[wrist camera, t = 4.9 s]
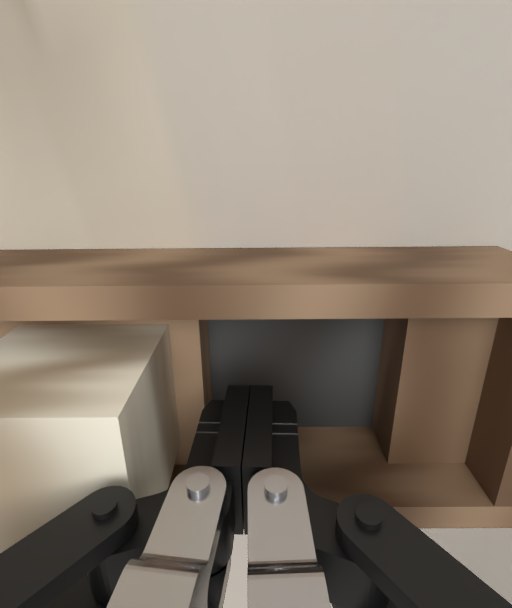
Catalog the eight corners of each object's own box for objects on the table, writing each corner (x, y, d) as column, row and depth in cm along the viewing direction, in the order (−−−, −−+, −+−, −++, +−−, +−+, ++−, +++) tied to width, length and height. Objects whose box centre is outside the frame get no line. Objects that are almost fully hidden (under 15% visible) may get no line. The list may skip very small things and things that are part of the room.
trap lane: (497, 246, 14) (595, 282, 10) (455, 439, 18) (517, 527, 14) (-452, 253, 15) (-737, 291, 10) (-324, 443, 18) (-502, 532, 14)
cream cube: (168, 323, 13) (117, 416, 8) (180, 444, 15) (143, 577, 10) (20, 324, 13) (-115, 418, 8) (49, 444, 15) (-48, 577, 10)
